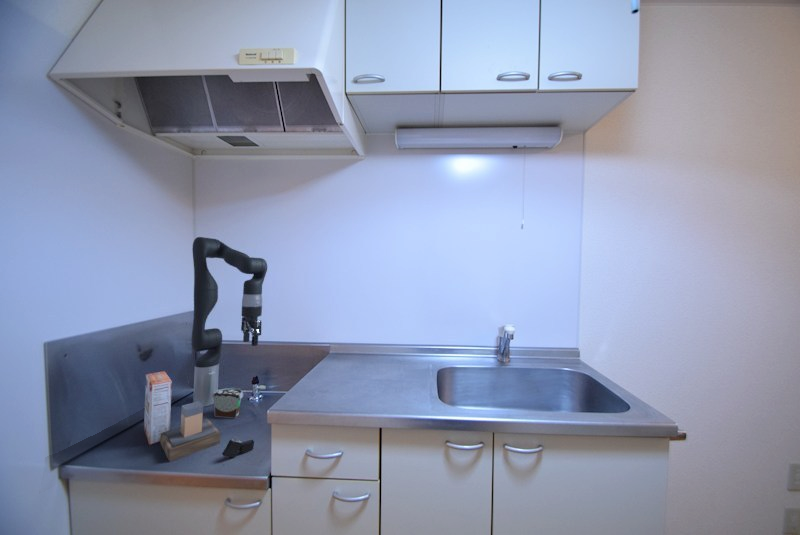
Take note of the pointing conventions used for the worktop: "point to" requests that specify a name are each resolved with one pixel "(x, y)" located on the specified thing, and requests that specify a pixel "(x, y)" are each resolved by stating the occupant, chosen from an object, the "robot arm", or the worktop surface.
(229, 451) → the lighter
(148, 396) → the cracker box
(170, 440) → the stand
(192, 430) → the block
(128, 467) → the worktop surface
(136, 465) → the worktop surface
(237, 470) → the worktop surface
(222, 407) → the food container
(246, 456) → the worktop surface
